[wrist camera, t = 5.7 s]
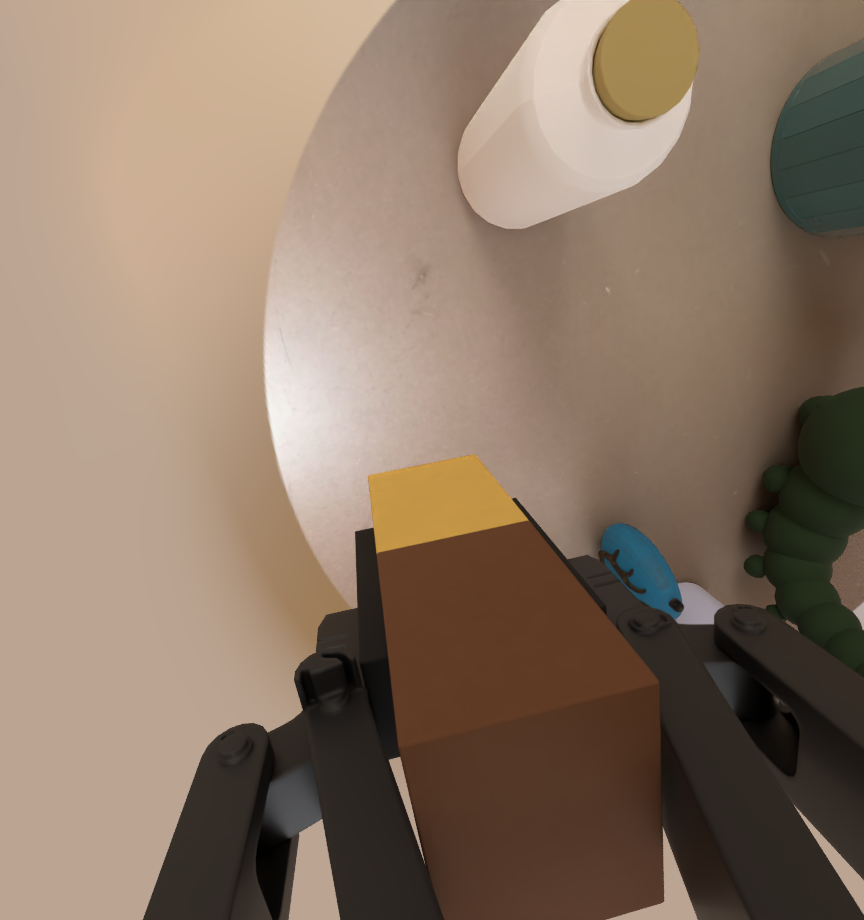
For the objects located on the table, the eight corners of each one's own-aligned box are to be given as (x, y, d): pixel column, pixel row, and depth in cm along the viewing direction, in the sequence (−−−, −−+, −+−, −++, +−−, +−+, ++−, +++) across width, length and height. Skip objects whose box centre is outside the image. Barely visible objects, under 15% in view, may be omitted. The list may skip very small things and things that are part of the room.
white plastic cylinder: (578, 113, 37) (777, -47, 20) (554, 240, 39) (715, 194, 22) (463, 87, 35) (572, -110, 18) (446, 221, 37) (528, 155, 20)
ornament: (575, 525, 46) (633, 583, 37) (620, 500, 46) (690, 552, 37) (607, 594, 49) (669, 665, 40) (650, 571, 49) (723, 636, 40)
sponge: (392, 593, 20) (448, 968, 9) (367, 475, 19) (397, 747, 7) (491, 571, 21) (665, 903, 9) (475, 453, 19) (661, 680, 8)
